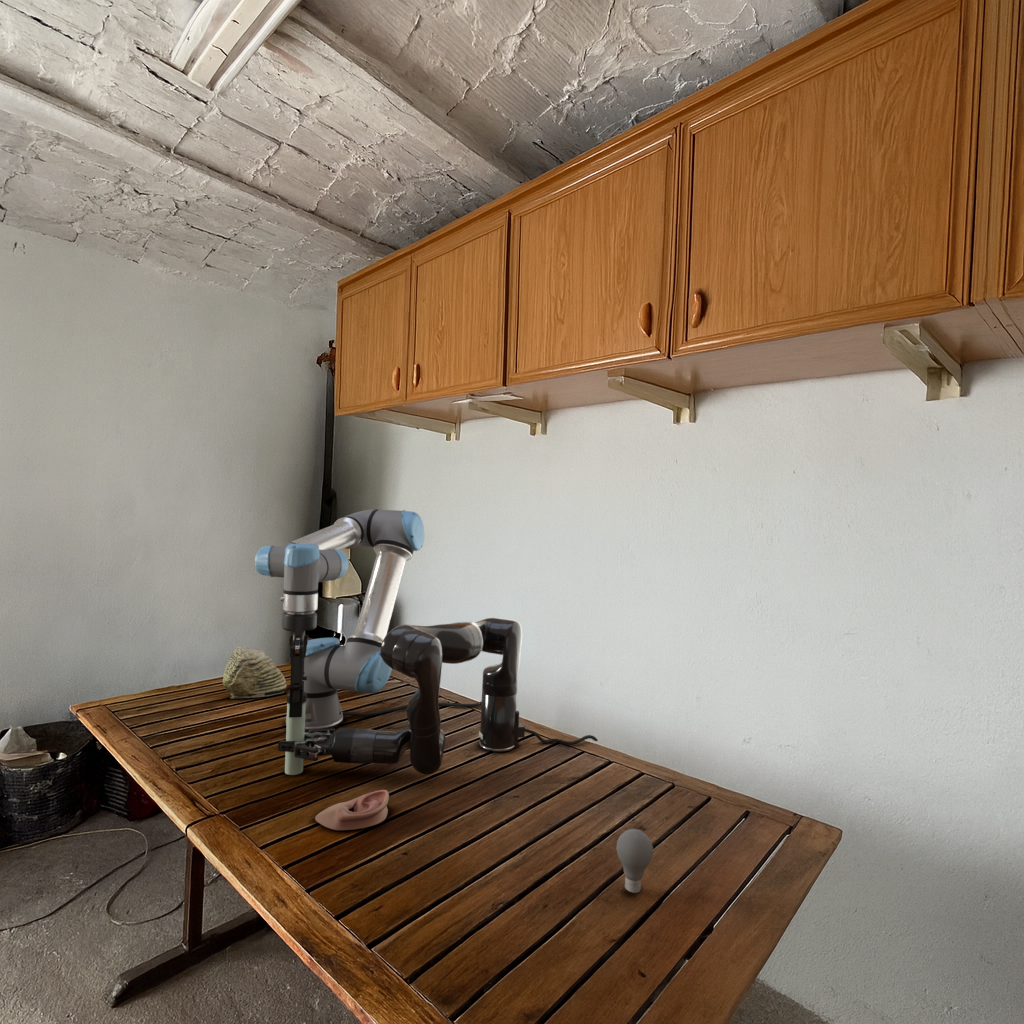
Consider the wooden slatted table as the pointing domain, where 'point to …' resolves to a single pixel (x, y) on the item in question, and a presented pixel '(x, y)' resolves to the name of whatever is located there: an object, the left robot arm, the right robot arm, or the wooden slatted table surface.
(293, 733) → the pale green cylinder
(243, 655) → the fossil
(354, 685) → the left robot arm
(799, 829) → the wooden slatted table surface
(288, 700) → the lid
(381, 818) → the anatomical model
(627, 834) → the light bulb
